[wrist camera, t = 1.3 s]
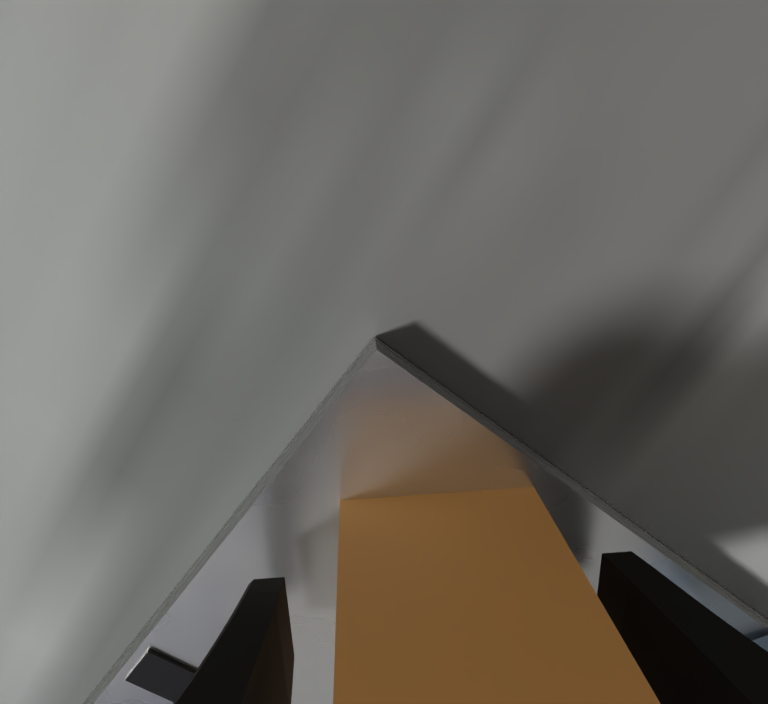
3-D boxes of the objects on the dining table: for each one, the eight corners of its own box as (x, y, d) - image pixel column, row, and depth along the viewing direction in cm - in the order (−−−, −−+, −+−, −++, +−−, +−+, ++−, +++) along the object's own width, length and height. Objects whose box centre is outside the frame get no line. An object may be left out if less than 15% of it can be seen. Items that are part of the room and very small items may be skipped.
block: (524, 636, 12) (635, 931, 7) (351, 650, 12) (351, 962, 7) (533, 487, 11) (676, 729, 6) (339, 500, 11) (330, 760, 6)
